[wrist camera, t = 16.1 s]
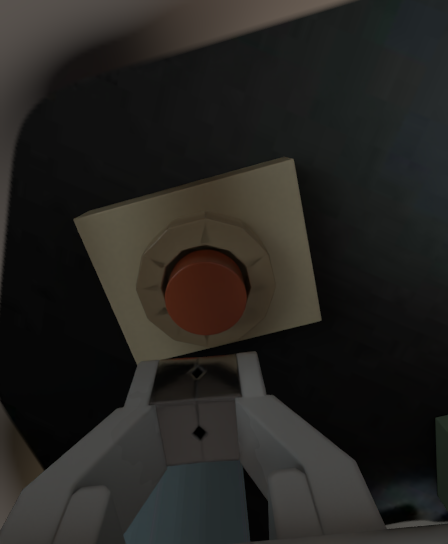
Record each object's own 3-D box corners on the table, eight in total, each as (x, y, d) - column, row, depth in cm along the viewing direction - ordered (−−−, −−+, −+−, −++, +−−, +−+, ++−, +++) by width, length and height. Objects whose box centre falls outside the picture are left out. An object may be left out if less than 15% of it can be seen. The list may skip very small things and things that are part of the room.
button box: (144, 344, 21) (130, 387, 17) (88, 211, 18) (56, 228, 14) (310, 303, 21) (333, 338, 17) (284, 156, 17) (304, 160, 14)
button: (182, 324, 17) (179, 343, 15) (159, 260, 15) (153, 274, 14) (250, 307, 16) (255, 325, 15) (233, 240, 15) (236, 252, 14)
